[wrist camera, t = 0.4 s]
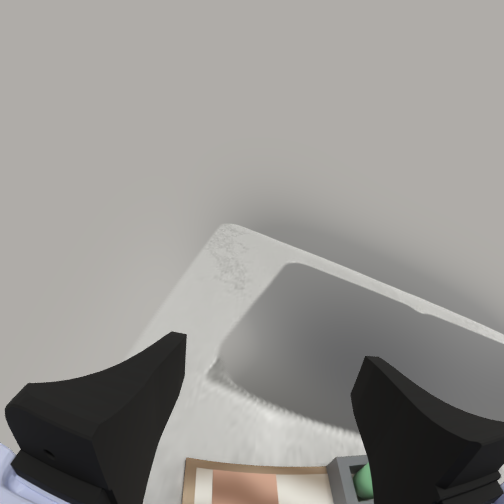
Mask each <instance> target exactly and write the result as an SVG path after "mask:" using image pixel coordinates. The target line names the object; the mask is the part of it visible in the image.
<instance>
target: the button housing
mask: <svg viewBox="0 0 504 504" xmlns="http://www.w3.org/2000/svg"><path fill="white" fill-rule="evenodd" d="M368 462H369V461H368V457H367V455H359V456H346V457H336V458H335V459H334V460H333V461H332V462H331V463H330V464H328V465H327V466H326V471H327V474H328V478H329V483H330V488H331V492H332V497H333V502H334V504H374V499H373V500H368V501H362V502H358V500H357V496H356V492H355V488H354V484H353V480H352V476H351V474H356V473H357V472H358V471H359V470H360V469H362V468H363V467H364V466H365V465H366V464H367V463H368Z"/></svg>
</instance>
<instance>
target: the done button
mask: <svg viewBox="0 0 504 504" xmlns="http://www.w3.org/2000/svg"><path fill="white" fill-rule="evenodd" d="M352 480H353V484H354V488H355V492H356V494H357V495H358V496H359V497H361V498H363V499H368V500H370V499H374V498H373V488H372V479H371V473H370V467H369V462H368V463H367V464H366V465H365V466H364V467H363V468H362V469H360V470H359V471H358V472H357V473H356V474H355V475H354V476H353V478H352Z"/></svg>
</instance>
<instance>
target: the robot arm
mask: <svg viewBox="0 0 504 504" xmlns="http://www.w3.org/2000/svg"><path fill="white" fill-rule="evenodd" d="M186 338H187V334H182V333H177V332H170V333H169V334H167V335H166V336H164V337H163V338H161V339H160V340H158V341H157V342H155V343H154V344H153V345H151V346H149V347H148V348H146V349H145V350H143V351H142V352H140V353H138V354H137V355H135V356H133V357H131V358H129V359H128V360H126V361H124V362H122V363H120V364H118V365H115V366H113V367H111V368H108V369H106V370H103V371H100V372H97V373H93V374H90V375H87V376H83V377H79V378H75V379H70V380H64V381H57V382H46V383H28V384H27V385H26V386H25V387H24V388H23V389H22V390H21V391H20V392H19V393H18V394H17V395H16V396H15V397H14V398H13V399H12V400H11V401H10V402H9V404H8V405H7V406H6V408H5V417H6V420H7V423H8V425H9V427H10V429H11V431H12V433H13V435H14V437H15V439H16V441H17V443H18V445H19V447H20V448H21V450H20V451H19V453H18V454H17V455H15V453H14V452H12V450H10V449H9V448H8V447H6V446H5V445H3V444H2V443H0V504H142V503H143V499H144V495H145V490H146V486H147V482H148V478H149V474H150V471H151V467H152V463H153V460H154V456H155V453H156V449H157V446H158V443H159V440H160V438H161V435H162V433H163V431H164V428H165V426H166V424H167V421H168V419H169V417H170V415H171V412H172V410H173V408H174V406H175V403H176V401H177V399H178V396H179V393H180V390H181V387H182V383H183V379H184V376H185V356H186ZM351 400H352V406H353V412H354V416H355V419H356V422H357V426H358V429H359V432H360V435H361V438H362V441H363V444H364V447H365V450H366V453H367V457H368V461H369V467H370V473H371V479H372V488H373V498H374V504H504V482H503V483H502V484H501V485H499V483H498V481H497V480H499V478H500V477H501V475H500V473H499V471H498V470H499V469H500V468H501V466H502V465H503V464H504V422H501V421H495V420H490V419H486V418H483V417H479V416H476V415H473V414H470V413H467V412H465V411H463V410H460V409H458V408H455V407H453V406H451V405H449V404H447V403H445V402H443V401H442V400H440V399H438V398H436V397H434V396H433V395H431V394H430V393H428V392H427V391H425V390H424V389H422V388H421V387H419V386H418V385H416V384H415V383H413V382H412V381H411V380H409V379H408V378H407V377H405V376H404V375H403V374H401V373H400V372H399V371H398V370H396V369H395V368H394V367H392V366H391V365H390V364H388V363H387V362H386V361H384V360H383V359H381V358H379V357H371V356H365V358H364V361H363V364H362V366H361V369H360V372H359V374H358V377H357V379H356V382H355V384H354V387H353V390H352V392H351Z"/></svg>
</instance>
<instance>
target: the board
mask: <svg viewBox="0 0 504 504" xmlns="http://www.w3.org/2000/svg"><path fill="white" fill-rule="evenodd" d="M354 475H355V474H351V476H352V478H353V476H354ZM356 496H357V500H358V502H362V501H368V499H363V498H361V497H359V496H358V495H357V494H356ZM370 500H373V499H370ZM182 504H334V502H333V497H332V492H331V488H330V483H329V478H328V474H327V471H326V466H322V467H273V466H254V465H241V464H230V463H221V462H213V461H206V460H199V459H193V458H186V465H185V475H184V486H183V497H182Z"/></svg>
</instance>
